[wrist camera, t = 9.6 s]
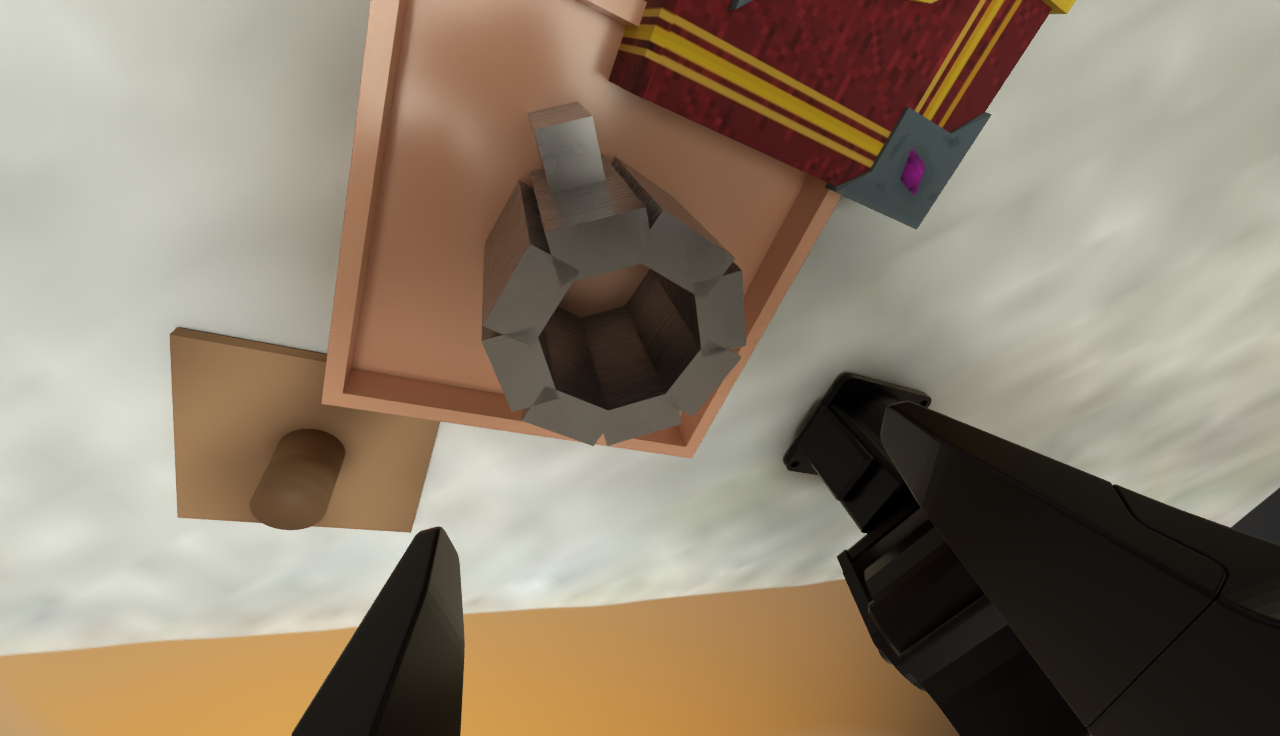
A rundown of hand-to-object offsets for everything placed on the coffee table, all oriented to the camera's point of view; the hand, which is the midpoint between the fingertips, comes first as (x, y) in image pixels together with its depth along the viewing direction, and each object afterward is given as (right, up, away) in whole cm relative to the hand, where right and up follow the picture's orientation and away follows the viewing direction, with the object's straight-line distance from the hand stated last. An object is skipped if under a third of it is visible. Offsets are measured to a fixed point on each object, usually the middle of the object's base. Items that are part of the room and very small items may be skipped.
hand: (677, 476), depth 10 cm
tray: (-3, +7, +9) cm, 12 cm away
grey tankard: (-3, +6, +9) cm, 11 cm away
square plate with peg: (-14, -1, +11) cm, 18 cm away
